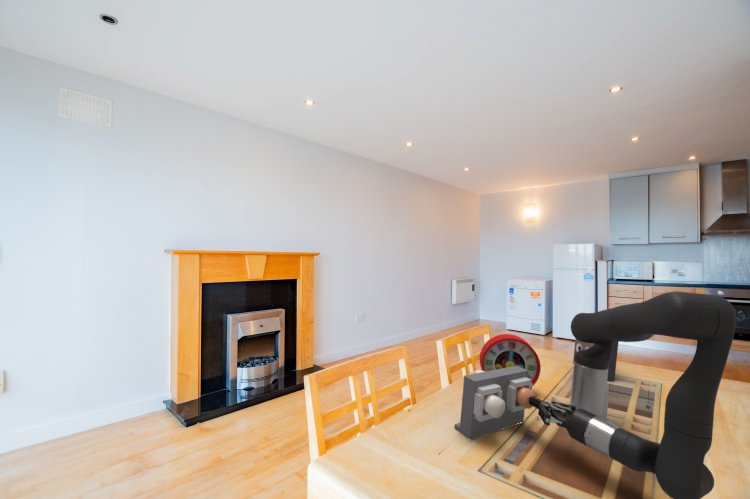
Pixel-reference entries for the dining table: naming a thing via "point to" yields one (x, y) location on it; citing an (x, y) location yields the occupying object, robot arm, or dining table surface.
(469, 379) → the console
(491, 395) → the cream button
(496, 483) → the dining table surface
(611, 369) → the cereal box
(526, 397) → the terracotta button
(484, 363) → the toy clock
